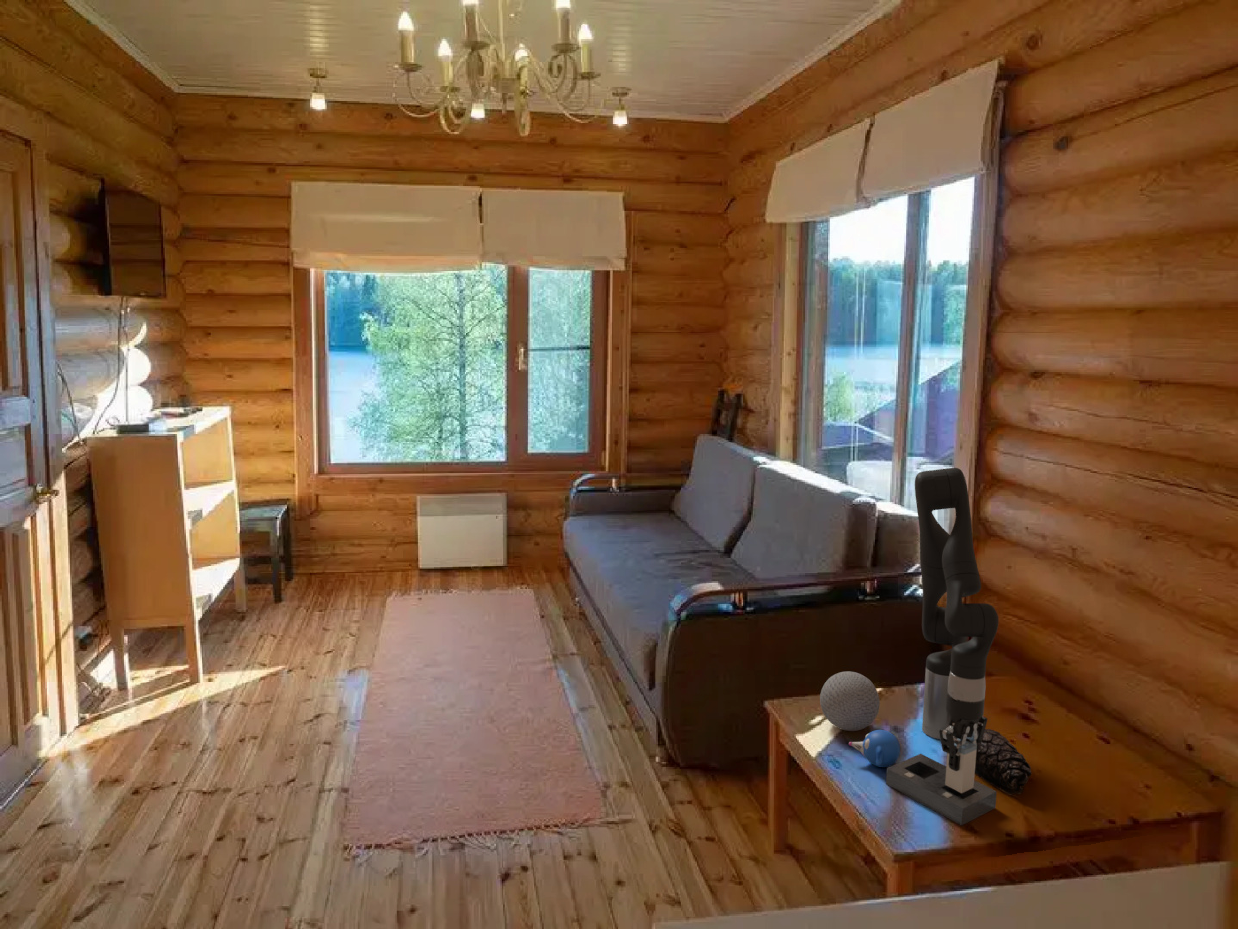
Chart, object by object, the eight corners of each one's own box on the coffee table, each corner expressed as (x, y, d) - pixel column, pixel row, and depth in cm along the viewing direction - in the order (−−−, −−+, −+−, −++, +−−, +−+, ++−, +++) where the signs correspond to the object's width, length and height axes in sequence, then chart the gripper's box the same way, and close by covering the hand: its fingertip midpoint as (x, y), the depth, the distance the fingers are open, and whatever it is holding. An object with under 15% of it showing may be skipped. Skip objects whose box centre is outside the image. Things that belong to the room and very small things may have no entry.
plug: (957, 779, 198) (960, 735, 196) (973, 787, 195) (977, 742, 193) (945, 784, 196) (948, 740, 194) (961, 793, 192) (965, 748, 190)
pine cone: (1013, 802, 198) (1016, 760, 196) (955, 764, 214) (957, 725, 212) (1047, 792, 202) (1051, 751, 200) (988, 756, 218) (991, 718, 216)
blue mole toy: (849, 748, 222) (851, 716, 220) (899, 755, 218) (901, 723, 217) (846, 772, 211) (847, 739, 209) (898, 780, 207) (900, 746, 205)
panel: (919, 769, 212) (920, 752, 211) (995, 808, 195) (996, 790, 194) (886, 784, 205) (886, 767, 204) (961, 825, 189) (962, 807, 188)
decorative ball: (881, 744, 224) (884, 688, 221) (820, 739, 226) (822, 683, 224) (875, 717, 238) (877, 664, 236) (817, 712, 241) (819, 660, 238)
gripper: (971, 679, 198) (966, 750, 201) (930, 694, 190) (925, 768, 194) (1001, 691, 192) (995, 764, 195) (960, 707, 184) (955, 783, 187)
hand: (960, 766), depth 194 cm, fingers closed on plug, 4 cm apart
